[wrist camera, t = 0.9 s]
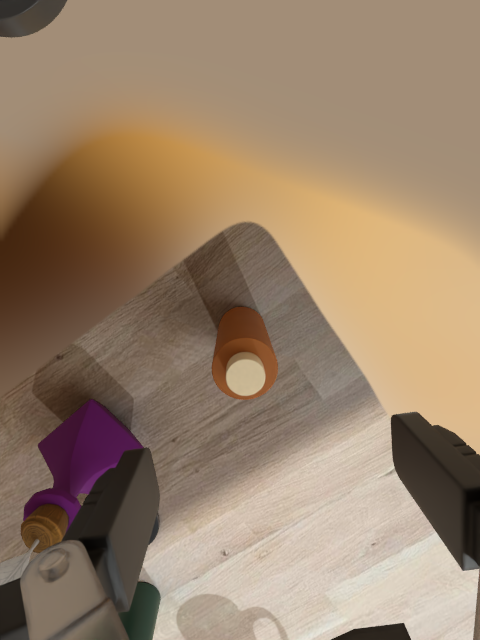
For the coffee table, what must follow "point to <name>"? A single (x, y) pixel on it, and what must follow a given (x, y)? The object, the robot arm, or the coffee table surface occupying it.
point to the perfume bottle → (69, 477)
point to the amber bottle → (243, 355)
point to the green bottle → (142, 613)
